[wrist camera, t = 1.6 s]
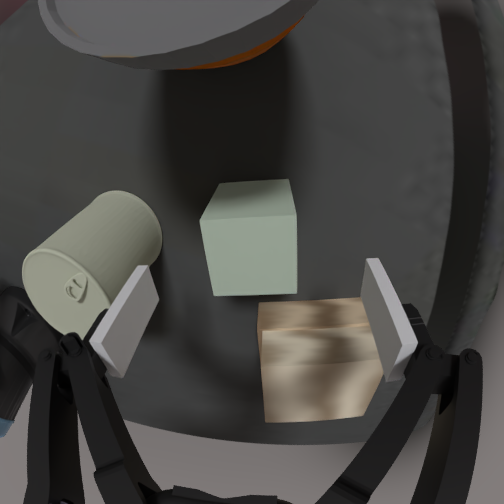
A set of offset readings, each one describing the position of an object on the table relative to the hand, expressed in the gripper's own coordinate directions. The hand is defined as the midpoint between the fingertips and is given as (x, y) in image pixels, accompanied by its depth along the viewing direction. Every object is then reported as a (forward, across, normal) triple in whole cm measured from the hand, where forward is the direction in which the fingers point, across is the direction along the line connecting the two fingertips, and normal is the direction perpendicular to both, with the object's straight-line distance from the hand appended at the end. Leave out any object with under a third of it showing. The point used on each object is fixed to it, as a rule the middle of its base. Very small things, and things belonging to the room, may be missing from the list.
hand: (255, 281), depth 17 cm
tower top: (+7, +5, -17) cm, 19 cm away
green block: (+10, -1, 0) cm, 11 cm away
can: (+10, -15, -1) cm, 18 cm away
